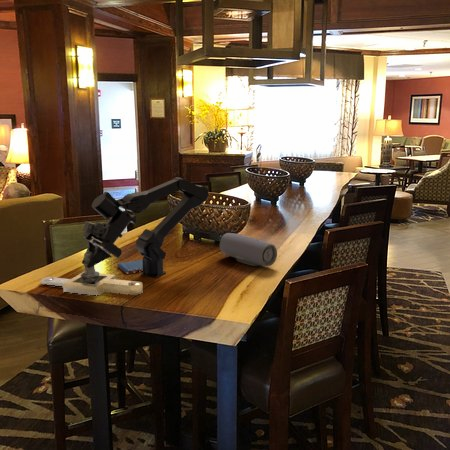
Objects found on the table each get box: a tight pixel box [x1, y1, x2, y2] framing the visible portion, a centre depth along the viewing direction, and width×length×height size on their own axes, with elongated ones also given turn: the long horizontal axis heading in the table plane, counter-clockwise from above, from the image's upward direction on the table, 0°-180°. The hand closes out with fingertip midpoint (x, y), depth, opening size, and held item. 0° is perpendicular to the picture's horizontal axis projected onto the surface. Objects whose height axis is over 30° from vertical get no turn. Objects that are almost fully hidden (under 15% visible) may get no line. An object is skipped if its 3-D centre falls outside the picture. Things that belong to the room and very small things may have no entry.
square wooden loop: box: [62, 271, 144, 296], centre depth 156 cm, size 24×12×3 cm, turn 74°
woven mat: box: [116, 259, 143, 275], centre depth 178 cm, size 10×11×2 cm
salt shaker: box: [80, 249, 100, 284], centre depth 156 cm, size 6×6×12 cm
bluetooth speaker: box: [219, 232, 278, 267], centre depth 183 cm, size 23×9×10 cm, turn 41°
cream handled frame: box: [40, 276, 105, 297], centre depth 159 cm, size 24×12×2 cm, turn 74°
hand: (85, 265), depth 155 cm, fingers closed on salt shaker, 4 cm apart
